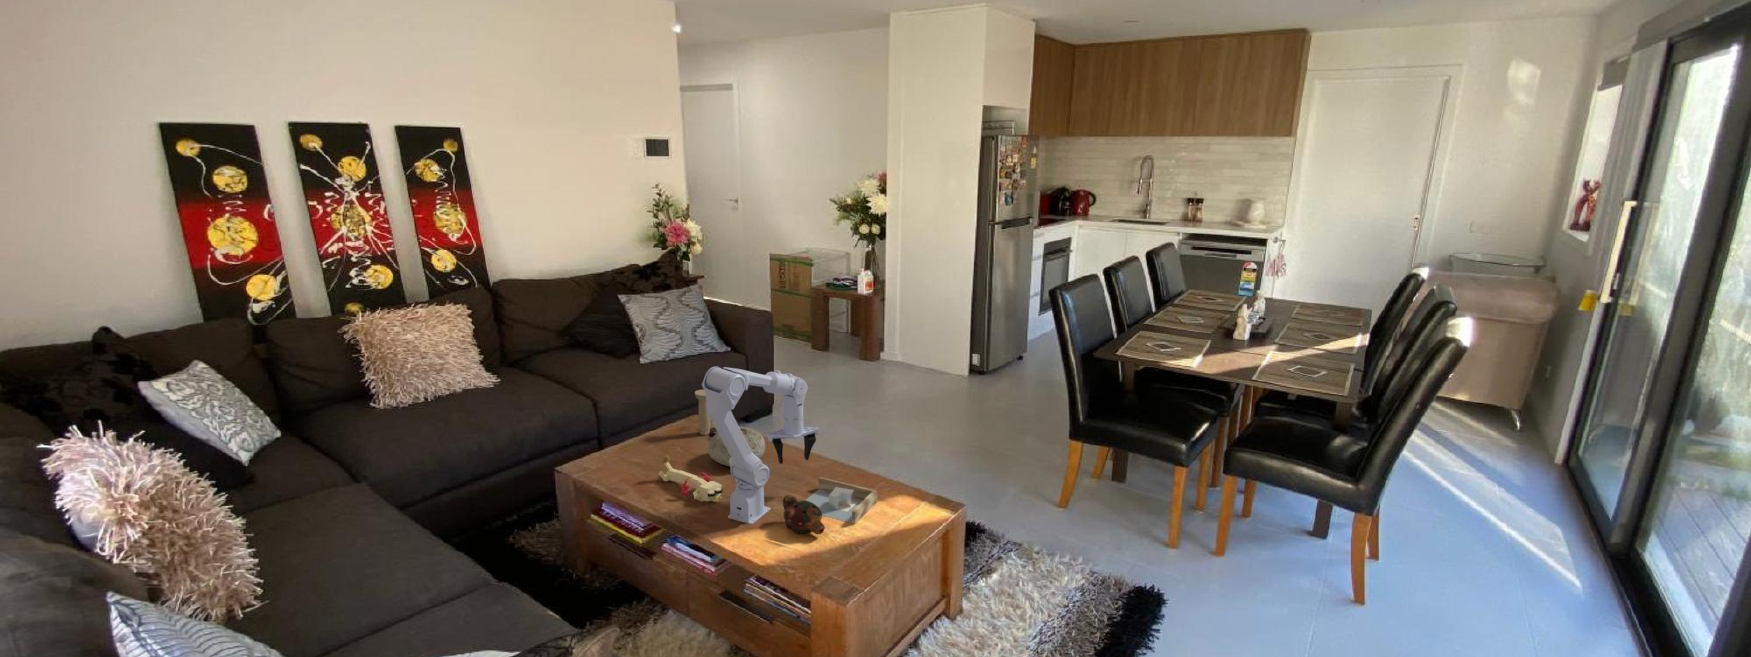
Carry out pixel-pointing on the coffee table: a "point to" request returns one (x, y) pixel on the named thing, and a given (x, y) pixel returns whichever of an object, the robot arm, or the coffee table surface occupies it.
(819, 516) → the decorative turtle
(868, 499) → the walls
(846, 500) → the bracket
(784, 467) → the coffee table surface
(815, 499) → the board
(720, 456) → the decorative shell
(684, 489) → the cream blocky elongated figure
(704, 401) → the handle
